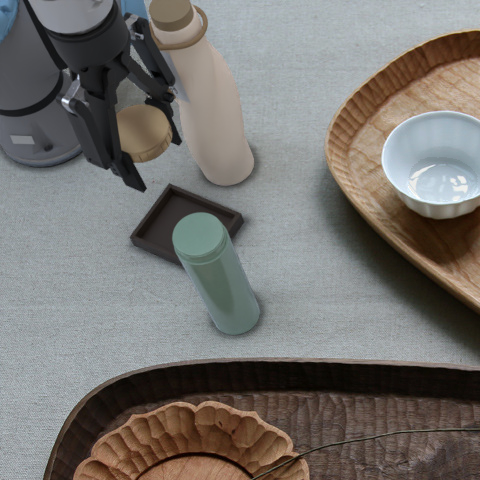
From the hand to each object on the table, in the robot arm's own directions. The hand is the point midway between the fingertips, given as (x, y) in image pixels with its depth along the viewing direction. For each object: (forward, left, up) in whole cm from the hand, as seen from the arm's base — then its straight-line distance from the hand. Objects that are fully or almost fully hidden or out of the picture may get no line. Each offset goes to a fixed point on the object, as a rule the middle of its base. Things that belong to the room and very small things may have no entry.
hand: (154, 163), depth 101 cm
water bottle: (-1, +12, -16) cm, 20 cm away
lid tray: (0, 0, -15) cm, 15 cm away
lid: (0, 0, +6) cm, 6 cm away
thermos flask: (+13, -8, -15) cm, 22 cm away
